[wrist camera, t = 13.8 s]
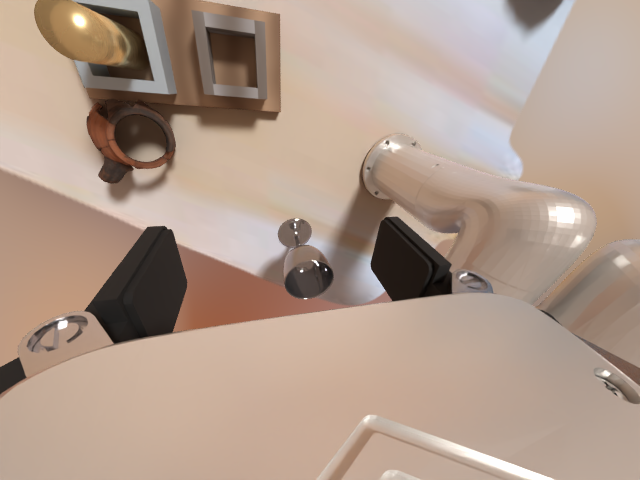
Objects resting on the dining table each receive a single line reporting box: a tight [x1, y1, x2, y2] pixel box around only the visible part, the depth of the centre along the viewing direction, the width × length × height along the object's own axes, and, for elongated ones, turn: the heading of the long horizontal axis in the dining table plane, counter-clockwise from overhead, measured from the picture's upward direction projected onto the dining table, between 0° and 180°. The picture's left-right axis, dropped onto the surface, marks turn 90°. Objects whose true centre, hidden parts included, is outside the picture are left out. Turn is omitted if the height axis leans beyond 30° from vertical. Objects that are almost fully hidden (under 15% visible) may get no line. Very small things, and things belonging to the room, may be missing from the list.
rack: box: [72, 0, 177, 94], centre depth 27 cm, size 8×8×4 cm
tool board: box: [86, 0, 281, 112], centre depth 29 cm, size 24×11×5 cm, turn 85°
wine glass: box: [278, 218, 334, 299], centre depth 43 cm, size 8×8×15 cm
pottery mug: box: [87, 99, 176, 183], centre depth 33 cm, size 12×10×8 cm
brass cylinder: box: [34, 0, 150, 70], centre depth 24 cm, size 4×4×12 cm
